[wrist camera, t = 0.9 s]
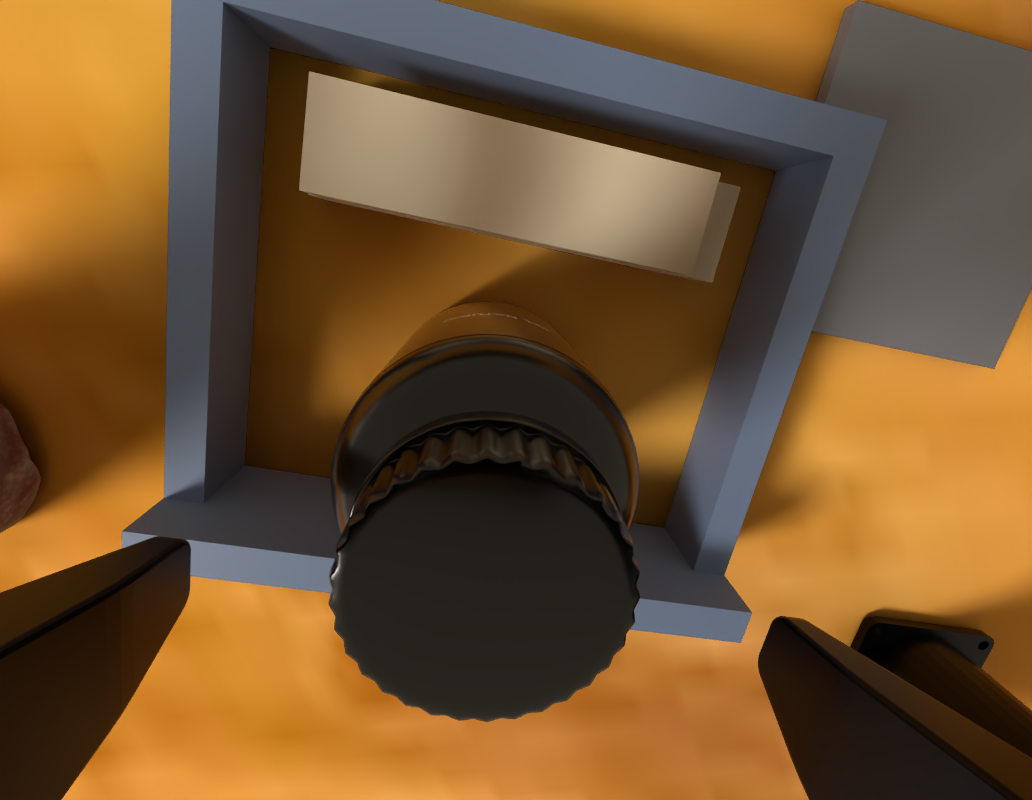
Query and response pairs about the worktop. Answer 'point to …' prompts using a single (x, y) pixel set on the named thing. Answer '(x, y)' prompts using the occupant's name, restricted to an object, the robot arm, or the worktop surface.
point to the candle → (14, 473)
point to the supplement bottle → (484, 519)
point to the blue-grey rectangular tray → (523, 84)
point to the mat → (933, 188)
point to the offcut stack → (511, 180)
